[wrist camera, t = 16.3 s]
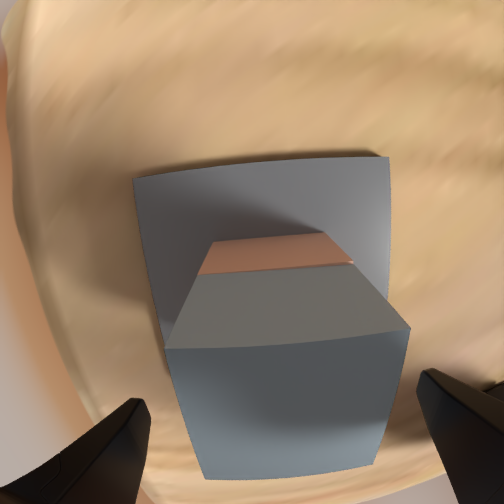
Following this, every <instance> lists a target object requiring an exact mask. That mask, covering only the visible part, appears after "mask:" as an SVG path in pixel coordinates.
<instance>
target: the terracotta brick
mask: <svg viewBox="0 0 504 504" xmlns="http://www.w3.org/2000/svg"><path fill="white" fill-rule="evenodd" d="M349 264H353V260H352V259H351V258H350V257H349V256H348V255H347V254H346V253H345V252H344V251H343V250H342V249H341V248H340V247H339V246H338V245H337V244H336V243H335V242H334V241H333V240H332V239H331V238H330V237H329V236H328V235H327V234H326V233H325V232H322V233H310V234H298V235H286V236H274V237H262V238H251V239H240V240H228V241H217V242H213V243H212V245H211V247H210V249H209V251H208V254H207V256H206V258H205V260H204V262H203V264H202V266H201V268H200V270H199V272H198V274H197V275H205V274H222V273H238V272H253V271H268V270H283V269H297V268H310V267H323V266H336V265H349Z"/></svg>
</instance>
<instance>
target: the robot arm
mask: <svg viewBox="0 0 504 504" xmlns="http://www.w3.org/2000/svg"><path fill="white" fill-rule="evenodd" d="M416 392H417V397H418V400H419V403H420V406H421V409H422V412H423V415H424V418H425V421H426V424H427V427H428V430H429V432H430V435H431V437H432V439H433V442H434V444H435V446H436V449H437V451H438V453H439V455H440V458H441V460H442V463H443V465H444V467H445V470H446V472H447V475H448V477H449V480H450V482H451V485H452V487H453V490H454V493H455V495H456V498H457V500H458V503H459V504H504V383H503V384H501V385H499V386H497V387H495V388H492V389H490V390H488V391H486V392H482V391H479V390H477V389H475V388H473V387H471V386H469V385H467V384H465V383H463V382H461V381H459V380H457V379H455V378H453V377H451V376H449V375H447V374H445V373H443V372H441V371H438V370H436V369H434V368H430V369H426V370H423V371H422V372H421V375H420V378H419V382H418V386H417V391H416ZM150 426H151V416H150V413H149V411H148V409H147V406H146V404H145V401H144V400H143V399H141V398H130V399H129V400H127V401H126V402H125V403H124V404H122V405H121V406H120V407H118V408H117V409H116V410H115V411H113V412H112V413H111V414H110V415H108V416H107V417H106V418H104V419H103V420H102V421H100V422H99V423H98V424H97V425H95V426H94V427H93V428H91V429H90V430H89V431H87V432H86V433H85V434H84V435H82V436H81V437H80V438H78V439H77V440H76V441H74V442H73V443H72V444H70V445H69V446H68V447H66V448H65V449H64V450H62V451H61V452H60V453H58V454H57V455H55V456H54V457H53V458H51V459H50V460H48V461H47V462H45V463H44V464H42V465H41V466H39V467H38V468H36V469H35V470H33V471H31V472H29V473H28V474H26V475H24V476H22V477H20V478H19V479H17V480H15V481H13V482H11V483H9V484H8V485H5V486H3V487H0V504H135V503H136V498H137V494H138V490H139V486H140V482H141V478H142V474H143V470H144V466H145V462H146V456H147V449H148V441H149V433H150Z"/></svg>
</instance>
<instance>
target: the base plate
mask: <svg viewBox="0 0 504 504" xmlns="http://www.w3.org/2000/svg"><path fill="white" fill-rule="evenodd" d="M133 187H134V195H135V202H136V209H137V216H138V222H139V228H140V234H141V240H142V245H143V251H144V256H145V261H146V267H147V272H148V276H149V281H150V286H151V291H152V295H153V300H154V304H155V308H156V312H157V317H158V321H159V325H160V329H161V333H162V337H163V340H164V344H166V342H167V340H168V338H169V336H170V333H171V331H172V329H173V327H174V324H175V322H176V320H177V318H178V316H179V314H180V311H181V309H182V307H183V305H184V303H185V301H186V298H187V296H188V294H189V292H190V290H191V288H192V286H193V284H194V281H195V279H196V277H197V274H198V272H199V270H200V268H201V266H202V264H203V262H204V260H205V258H206V256H207V254H208V251H209V249H210V247H211V245H212V243H213V242H217V241H228V240H240V239H251V238H262V237H274V236H286V235H298V234H310V233H322V232H325V233H326V234H327V235H328V236H329V237H330V238H331V239H332V240H333V241H334V242H335V243H336V244H337V245H338V246H339V247H340V248H341V249H342V250H343V251H344V252H345V253H346V254H347V255H348V256H349V257H350V258H351V259H352V260H353V264H354V265H355V266H356V267H357V268H358V269H359V270H360V272H361V273H362V274H363V275H364V276H365V277H366V278H367V279H368V280H369V281H370V282H371V283H372V285H373V286H374V287H375V288H376V289H377V290H378V291H379V292H380V293H381V295H382V296H383V297H384V298H385V299H386V300H387V298H388V285H389V270H390V247H391V186H390V163H389V157H336V158H311V159H293V160H279V161H266V162H254V163H243V164H233V165H224V166H215V167H207V168H199V169H191V170H184V171H177V172H170V173H164V174H157V175H151V176H145V177H139V178H133Z"/></svg>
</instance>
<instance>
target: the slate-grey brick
mask: <svg viewBox="0 0 504 504" xmlns="http://www.w3.org/2000/svg"><path fill="white" fill-rule="evenodd" d="M410 330H411V328H410V326H409V325H408V324H407V323H406V322H405V321H404V319H403V318H402V317H401V316H400V315H399V314H398V313H397V311H396V310H395V309H394V308H393V307H392V306H391V305H390V303H389V302H388V301H387V300H386V299H385V298H384V297H383V296H382V295H381V293H380V292H379V291H378V290H377V289H376V288H375V287H374V286H373V285H372V283H371V282H370V281H369V280H368V279H367V278H366V277H365V276H364V275H363V274H362V273H361V272H360V270H359V269H358V268H357V267H356V266H355V265H354V264H349V265H336V266H323V267H310V268H297V269H283V270H268V271H253V272H238V273H222V274H205V275H197V277H196V279H195V281H194V284H193V286H192V288H191V290H190V292H189V294H188V296H187V298H186V301H185V303H184V305H183V307H182V309H181V311H180V314H179V316H178V318H177V320H176V322H175V324H174V327H173V329H172V331H171V333H170V336H169V338H168V340H167V342H166V344H165V347H164V352H165V356H166V359H167V363H168V367H169V371H170V374H171V378H172V382H173V385H174V389H175V392H176V396H177V399H178V402H179V406H180V409H181V412H182V415H183V418H184V421H185V425H186V428H187V431H188V434H189V437H190V440H191V442H192V445H193V448H194V451H195V454H196V457H197V459H198V462H199V465H200V467H201V470H202V473H203V475H204V478H205V479H208V480H260V479H278V478H290V477H300V476H309V475H317V474H324V473H330V472H336V471H342V470H348V469H353V468H358V467H362V466H367V465H371V464H373V462H374V460H375V457H376V454H377V452H378V449H379V446H380V443H381V440H382V437H383V434H384V432H385V428H386V425H387V422H388V419H389V416H390V413H391V409H392V406H393V402H394V399H395V395H396V392H397V388H398V384H399V380H400V376H401V372H402V368H403V364H404V359H405V355H406V350H407V345H408V340H409V335H410Z"/></svg>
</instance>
